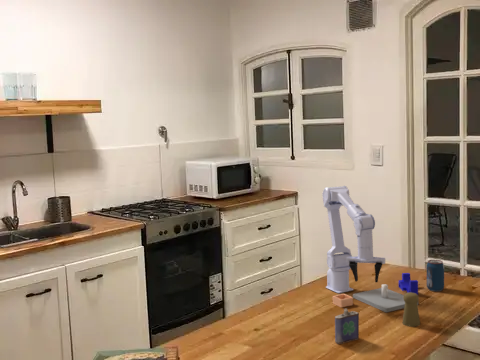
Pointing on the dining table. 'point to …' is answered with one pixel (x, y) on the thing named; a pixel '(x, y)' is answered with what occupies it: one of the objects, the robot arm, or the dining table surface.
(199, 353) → the dining table surface
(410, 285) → the cable clip
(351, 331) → the flask
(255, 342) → the dining table surface
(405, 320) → the cork
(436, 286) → the soda can
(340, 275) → the robot arm
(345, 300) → the collar
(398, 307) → the post board
